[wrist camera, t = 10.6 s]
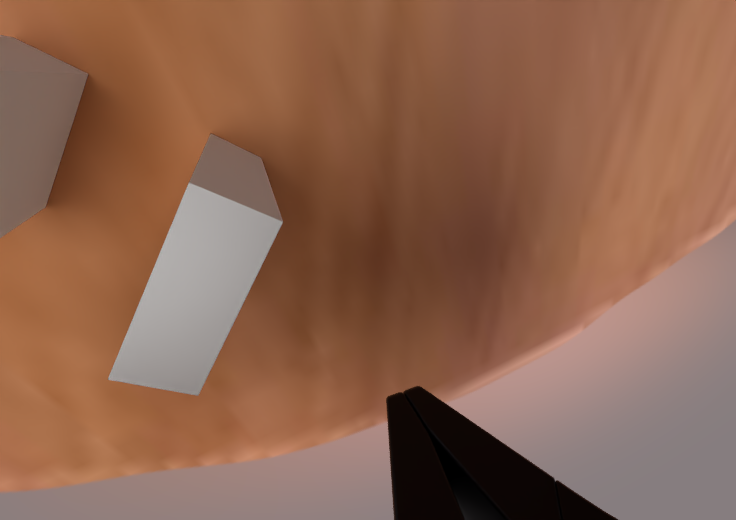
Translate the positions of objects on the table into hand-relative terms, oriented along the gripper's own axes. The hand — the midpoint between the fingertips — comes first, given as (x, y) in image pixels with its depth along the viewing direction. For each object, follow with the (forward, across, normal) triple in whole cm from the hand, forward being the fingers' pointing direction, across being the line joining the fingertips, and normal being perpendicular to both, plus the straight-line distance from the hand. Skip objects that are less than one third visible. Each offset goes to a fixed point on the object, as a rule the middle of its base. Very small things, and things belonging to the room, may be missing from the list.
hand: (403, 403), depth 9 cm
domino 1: (+10, +4, -3) cm, 11 cm away
